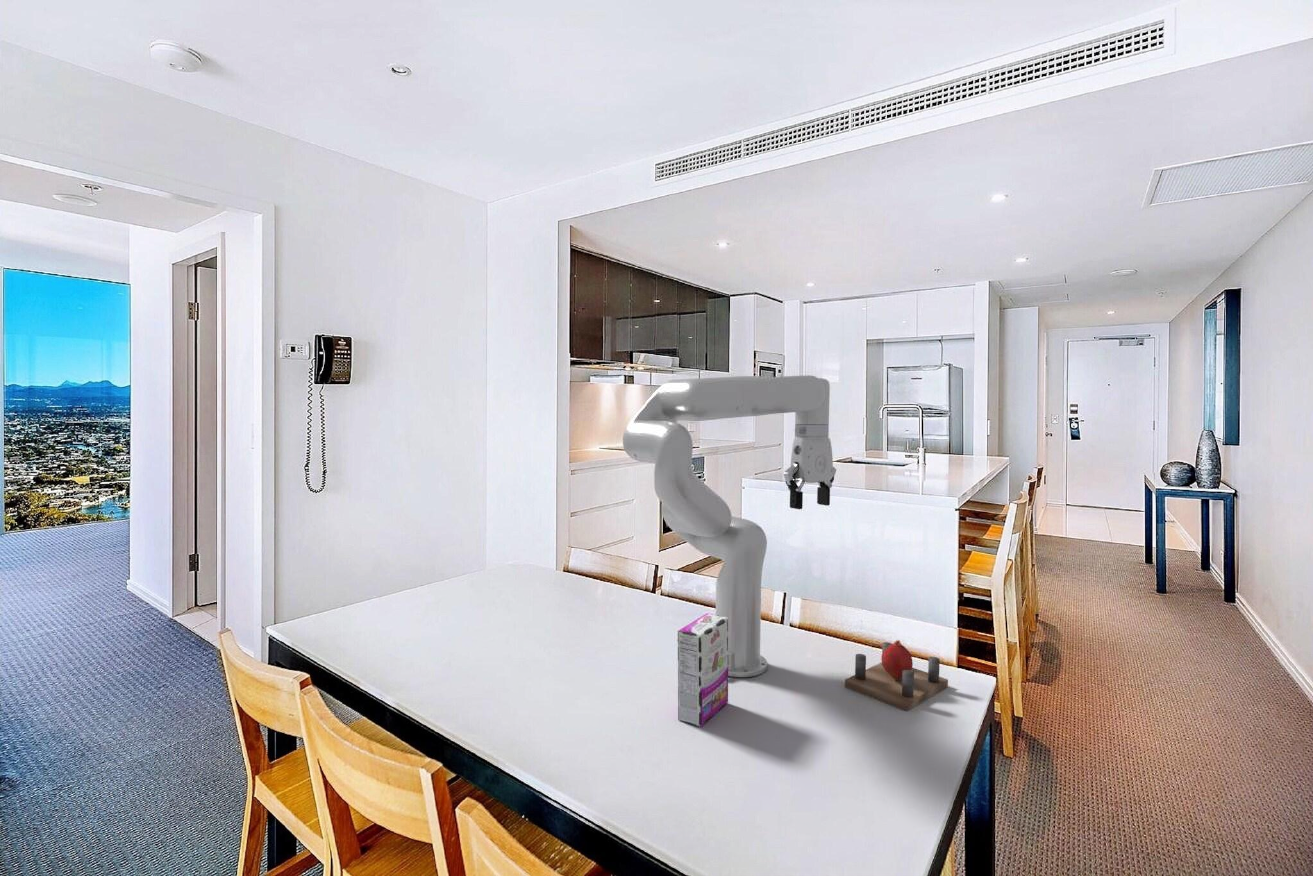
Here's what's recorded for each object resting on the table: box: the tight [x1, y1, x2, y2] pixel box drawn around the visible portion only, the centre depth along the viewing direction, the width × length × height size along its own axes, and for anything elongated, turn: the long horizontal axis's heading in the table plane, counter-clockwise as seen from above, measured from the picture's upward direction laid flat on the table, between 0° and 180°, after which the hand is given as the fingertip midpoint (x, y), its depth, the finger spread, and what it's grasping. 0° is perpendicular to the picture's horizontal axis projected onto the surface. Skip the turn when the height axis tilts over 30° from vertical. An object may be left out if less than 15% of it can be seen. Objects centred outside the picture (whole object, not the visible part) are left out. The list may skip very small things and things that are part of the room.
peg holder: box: [844, 641, 949, 712], centre depth 127 cm, size 16×13×6 cm
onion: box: [881, 639, 913, 680], centre depth 127 cm, size 6×6×8 cm
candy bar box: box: [677, 613, 729, 728], centre depth 116 cm, size 11×5×16 cm, turn 148°
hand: (809, 506), depth 148 cm, fingers open, 9 cm apart
